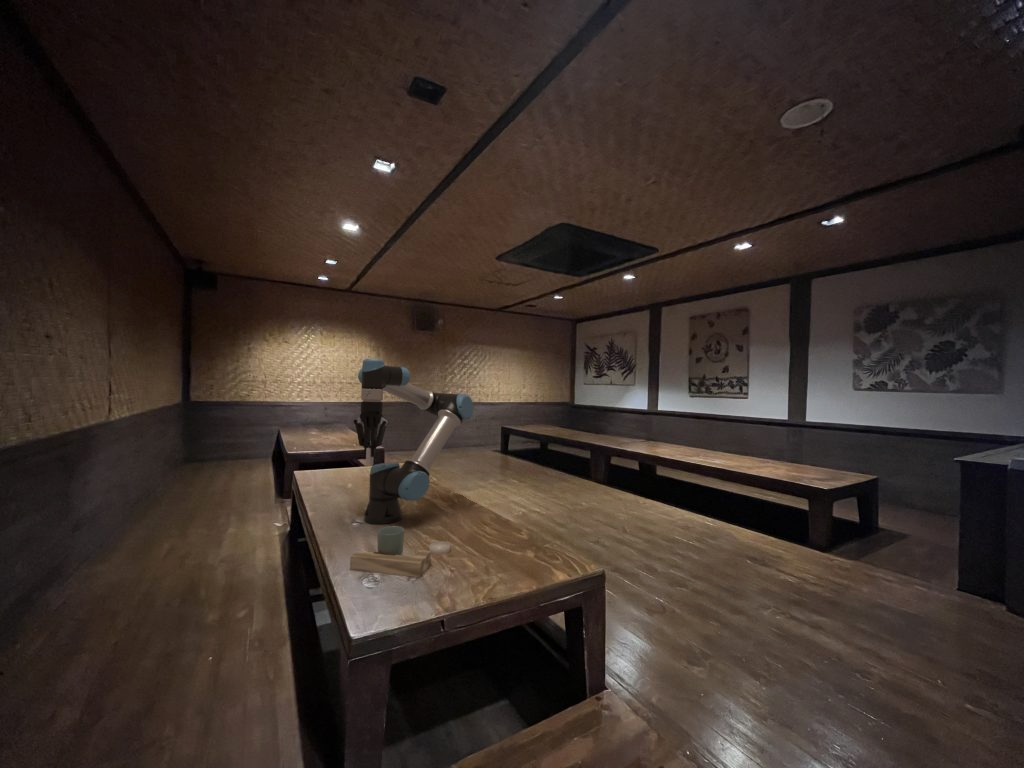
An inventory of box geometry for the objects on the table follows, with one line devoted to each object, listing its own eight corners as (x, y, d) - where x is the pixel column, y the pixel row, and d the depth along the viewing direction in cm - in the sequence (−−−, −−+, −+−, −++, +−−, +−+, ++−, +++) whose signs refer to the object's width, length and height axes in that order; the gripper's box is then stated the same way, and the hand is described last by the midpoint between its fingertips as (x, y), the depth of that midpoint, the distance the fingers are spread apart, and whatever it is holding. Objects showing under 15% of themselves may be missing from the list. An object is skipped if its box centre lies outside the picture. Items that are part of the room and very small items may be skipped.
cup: (394, 568, 120) (395, 535, 120) (372, 565, 122) (373, 532, 122) (407, 558, 127) (408, 527, 128) (386, 555, 129) (387, 524, 129)
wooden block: (365, 557, 127) (366, 544, 127) (430, 564, 124) (431, 550, 124) (350, 569, 118) (350, 555, 118) (419, 577, 115) (420, 562, 115)
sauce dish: (433, 546, 139) (433, 540, 139) (452, 548, 137) (452, 542, 138) (426, 554, 132) (426, 548, 132) (446, 556, 131) (446, 550, 131)
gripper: (349, 400, 142) (347, 466, 141) (383, 401, 140) (381, 468, 139) (360, 400, 149) (358, 462, 148) (393, 401, 147) (391, 464, 146)
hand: (369, 465), depth 144 cm, fingers closed
